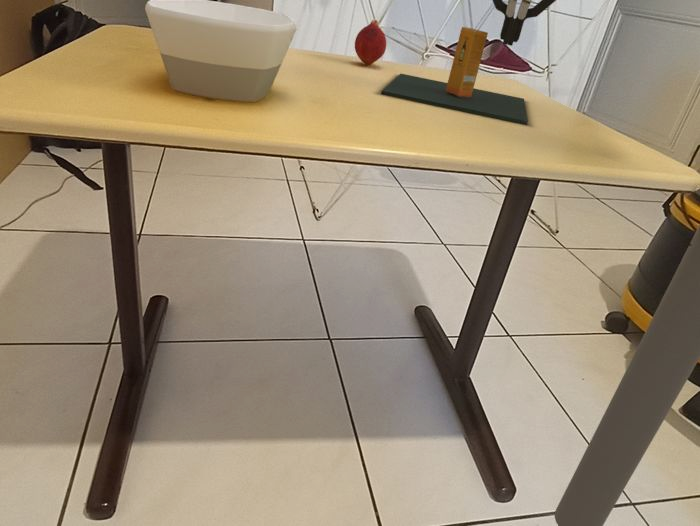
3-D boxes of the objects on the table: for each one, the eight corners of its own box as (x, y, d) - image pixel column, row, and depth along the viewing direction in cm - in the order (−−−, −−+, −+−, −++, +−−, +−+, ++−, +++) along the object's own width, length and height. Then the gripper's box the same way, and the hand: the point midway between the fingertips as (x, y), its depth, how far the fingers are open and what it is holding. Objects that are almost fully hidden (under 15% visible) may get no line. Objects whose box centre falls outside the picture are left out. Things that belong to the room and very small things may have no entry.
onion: (380, 70, 102) (388, 23, 98) (349, 64, 102) (356, 17, 98) (384, 66, 107) (392, 21, 103) (354, 60, 107) (361, 15, 103)
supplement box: (473, 97, 90) (490, 32, 85) (457, 97, 88) (473, 30, 83) (459, 92, 92) (475, 28, 88) (444, 92, 91) (459, 26, 86)
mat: (523, 101, 97) (524, 98, 97) (527, 124, 81) (528, 121, 81) (400, 76, 100) (400, 73, 100) (380, 94, 84) (381, 90, 84)
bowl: (127, 93, 64) (124, 4, 59) (169, 65, 79) (169, -7, 75) (283, 116, 65) (291, 31, 61) (294, 84, 81) (301, 14, 76)
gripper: (589, -78, 79) (549, 50, 88) (496, -93, 81) (466, 33, 90) (596, -82, 73) (552, 56, 81) (495, -99, 75) (463, 38, 83)
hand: (507, 44), depth 85 cm, fingers closed
